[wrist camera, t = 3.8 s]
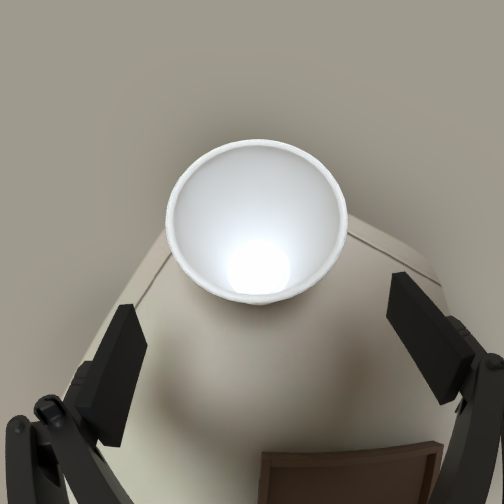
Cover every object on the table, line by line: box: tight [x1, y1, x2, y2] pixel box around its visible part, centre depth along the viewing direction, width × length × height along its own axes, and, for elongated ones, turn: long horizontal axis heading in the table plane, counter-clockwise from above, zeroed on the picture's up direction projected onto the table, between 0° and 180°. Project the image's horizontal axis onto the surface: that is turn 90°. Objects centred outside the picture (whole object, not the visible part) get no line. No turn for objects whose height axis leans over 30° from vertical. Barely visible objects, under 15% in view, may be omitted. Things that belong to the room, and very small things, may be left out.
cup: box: [165, 139, 348, 305], centre depth 22 cm, size 10×10×11 cm
